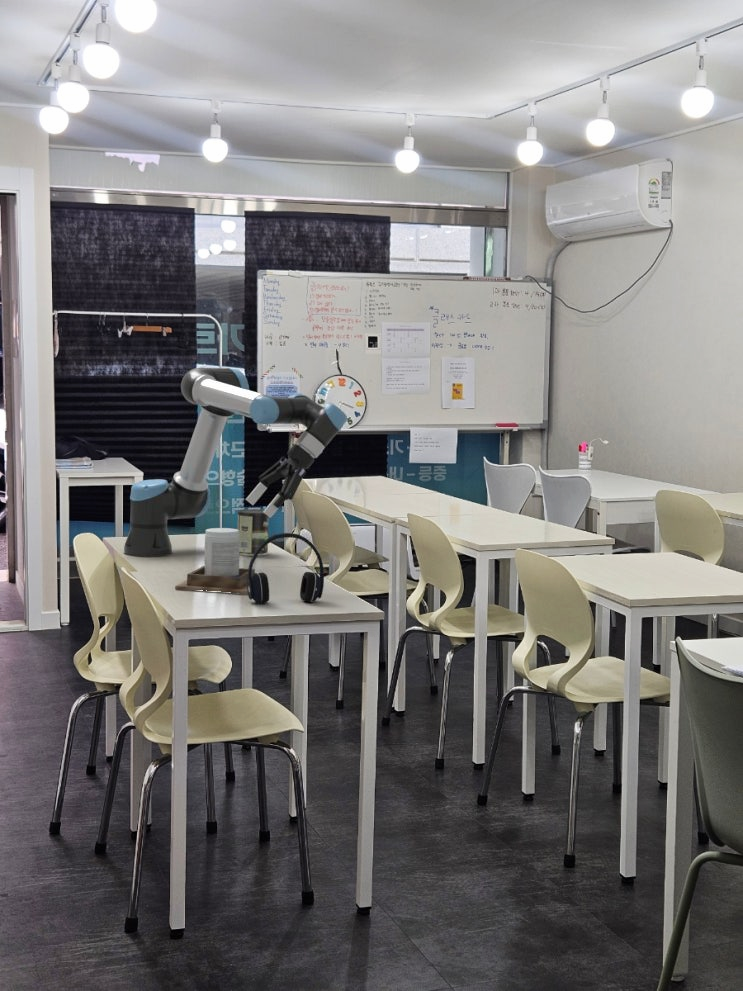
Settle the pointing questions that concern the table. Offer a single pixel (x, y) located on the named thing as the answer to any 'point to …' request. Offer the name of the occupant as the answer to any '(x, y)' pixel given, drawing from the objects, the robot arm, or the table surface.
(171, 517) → the robot arm
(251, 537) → the coffee can
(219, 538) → the supplement tub
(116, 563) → the table surface
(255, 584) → the headphones
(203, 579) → the tray
